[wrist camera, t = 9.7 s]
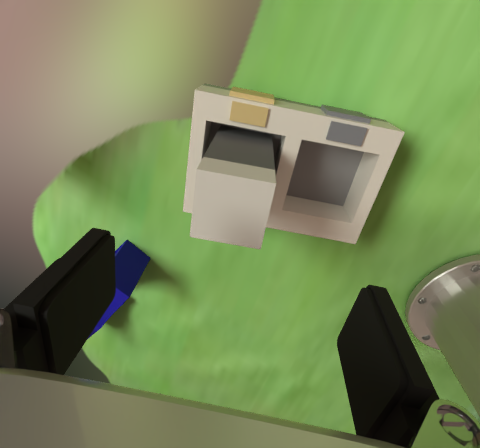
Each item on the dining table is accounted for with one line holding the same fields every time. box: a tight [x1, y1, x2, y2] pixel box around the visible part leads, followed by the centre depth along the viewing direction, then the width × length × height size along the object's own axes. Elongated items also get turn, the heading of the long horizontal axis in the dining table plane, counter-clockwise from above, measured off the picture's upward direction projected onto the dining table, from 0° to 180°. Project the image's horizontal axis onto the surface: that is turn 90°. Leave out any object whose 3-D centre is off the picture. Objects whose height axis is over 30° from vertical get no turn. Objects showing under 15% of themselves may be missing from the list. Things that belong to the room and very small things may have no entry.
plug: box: [190, 125, 276, 249], centre depth 21 cm, size 4×4×10 cm
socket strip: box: [183, 84, 405, 244], centre depth 24 cm, size 14×9×4 cm, turn 80°
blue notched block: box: [88, 240, 150, 338], centre depth 32 cm, size 12×4×6 cm, turn 134°
